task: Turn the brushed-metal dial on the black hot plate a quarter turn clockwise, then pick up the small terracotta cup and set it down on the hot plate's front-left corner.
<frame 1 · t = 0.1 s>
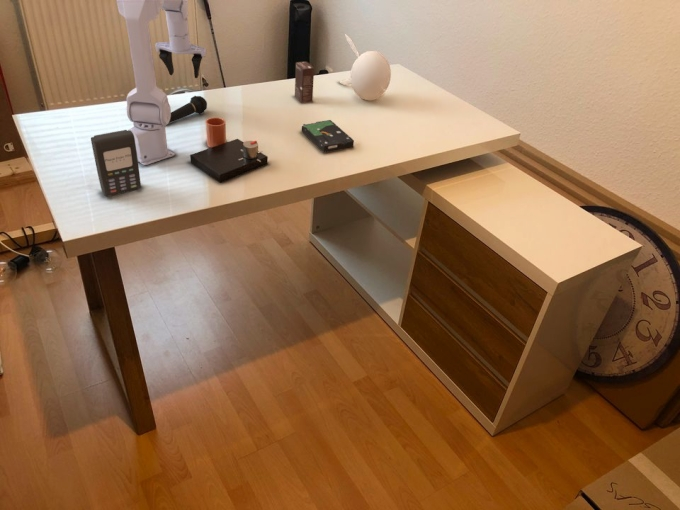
hand: (184, 75, 169), 11 cm above the table, tool pointing down, fingers open, 7 cm apart
card reader: (121, 191, 135), on the table
dial: (250, 149, 149), point 4 cm above the table, hinge at 0.0°
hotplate: (229, 163, 150), on the table
cup: (216, 144, 158), on the table
box: (303, 100, 189), on the table
microphone: (179, 119, 169), on the table
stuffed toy: (360, 96, 197), on the table
disk drive: (326, 140, 167), on the table
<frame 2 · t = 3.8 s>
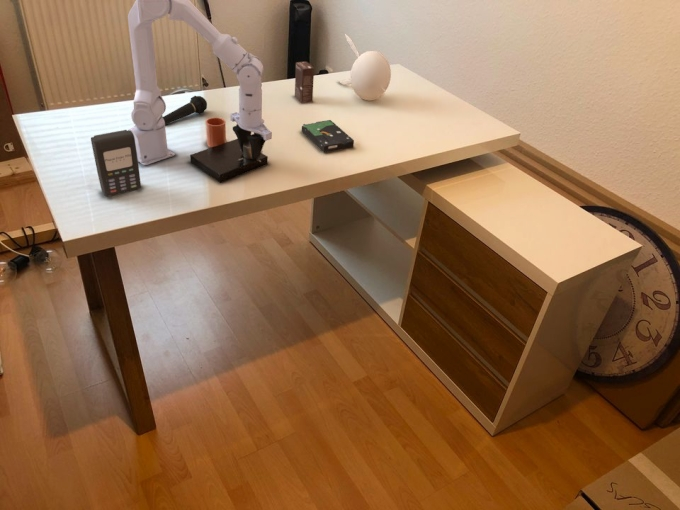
hand: (250, 154, 149), 3 cm above the table, tool pointing down, fingers closed on dial, 4 cm apart
dial: (250, 149, 149), point 4 cm above the table, hinge at 0.1°, touching gripper
everything else where it was.
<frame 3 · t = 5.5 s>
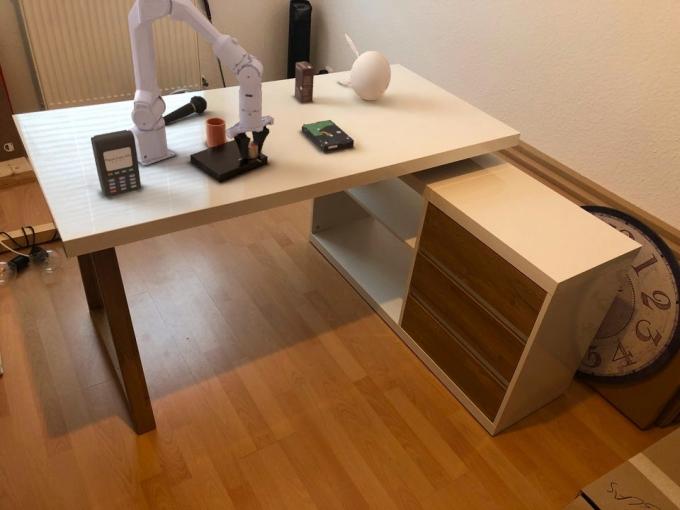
hand: (250, 154, 150), 3 cm above the table, tool pointing down, fingers closed on dial, 4 cm apart
dial: (250, 149, 149), point 4 cm above the table, hinge at -89.3°, touching gripper
everything else where it was.
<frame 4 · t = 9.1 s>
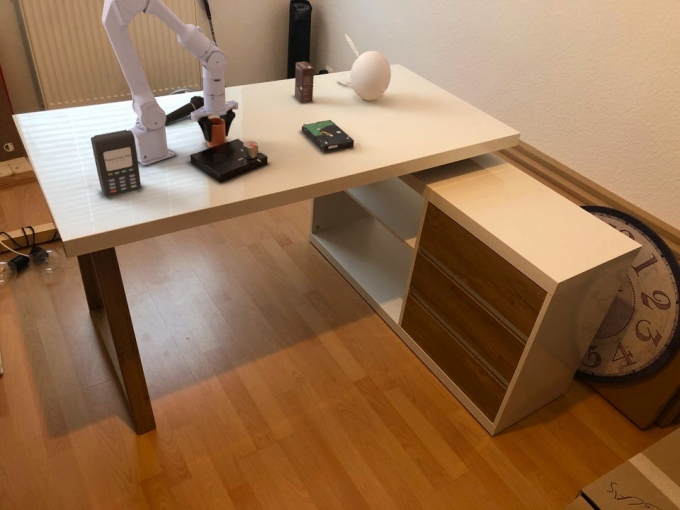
hand: (216, 138, 157), 2 cm above the table, tool pointing down, fingers closed on cup, 5 cm apart
dial: (250, 149, 149), point 4 cm above the table, hinge at -89.7°
cup: (216, 144, 158), on the table, touching gripper
everything else where it was.
when the fingers open (4 cm above the table, at t = 13.3 s): cup stays where it is, resting on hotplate.
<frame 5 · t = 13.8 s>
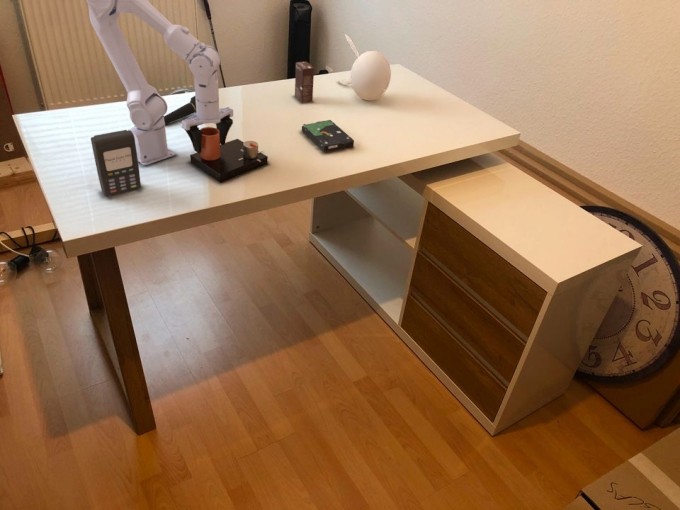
hand: (209, 147, 146), 5 cm above the table, tool pointing down, fingers open, 7 cm apart
cup: (210, 155, 148), point 2 cm above the table, touching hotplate
everything else where it was.
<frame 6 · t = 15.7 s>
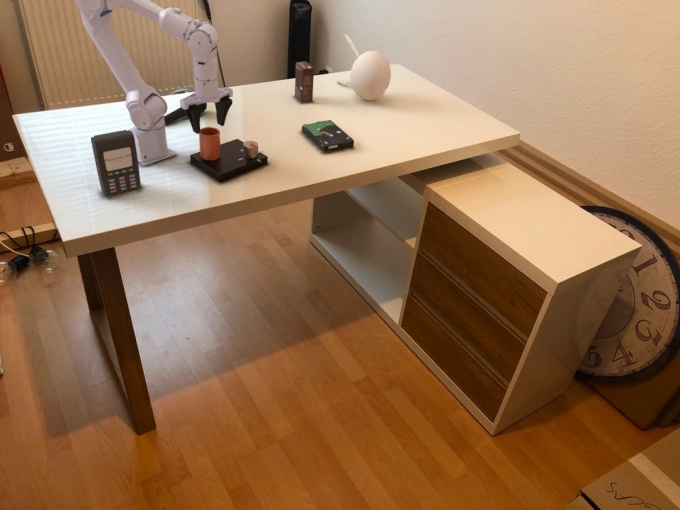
hand: (208, 128, 143), 10 cm above the table, tool pointing down, fingers open, 7 cm apart
nothing on the table moved.
at the end: dial at -90° (first picture: +0°); cup 0.7 cm from the target spot on the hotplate, point 2.5 cm above the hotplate's base; cup tilted 0° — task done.
